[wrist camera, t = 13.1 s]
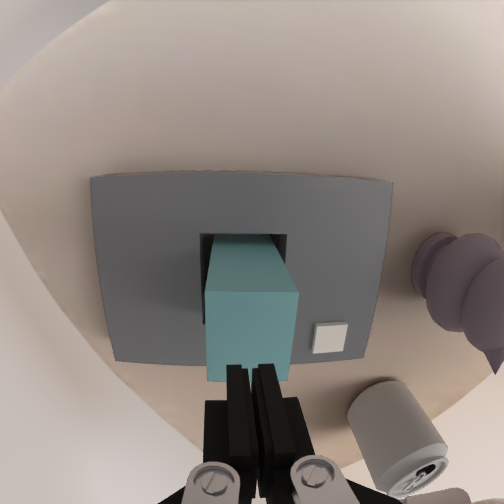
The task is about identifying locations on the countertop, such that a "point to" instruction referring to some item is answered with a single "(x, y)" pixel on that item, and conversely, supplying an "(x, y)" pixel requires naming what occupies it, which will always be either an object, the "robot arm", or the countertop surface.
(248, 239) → the plug
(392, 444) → the can
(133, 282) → the socket
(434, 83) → the countertop surface
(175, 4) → the countertop surface
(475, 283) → the cat figurine
